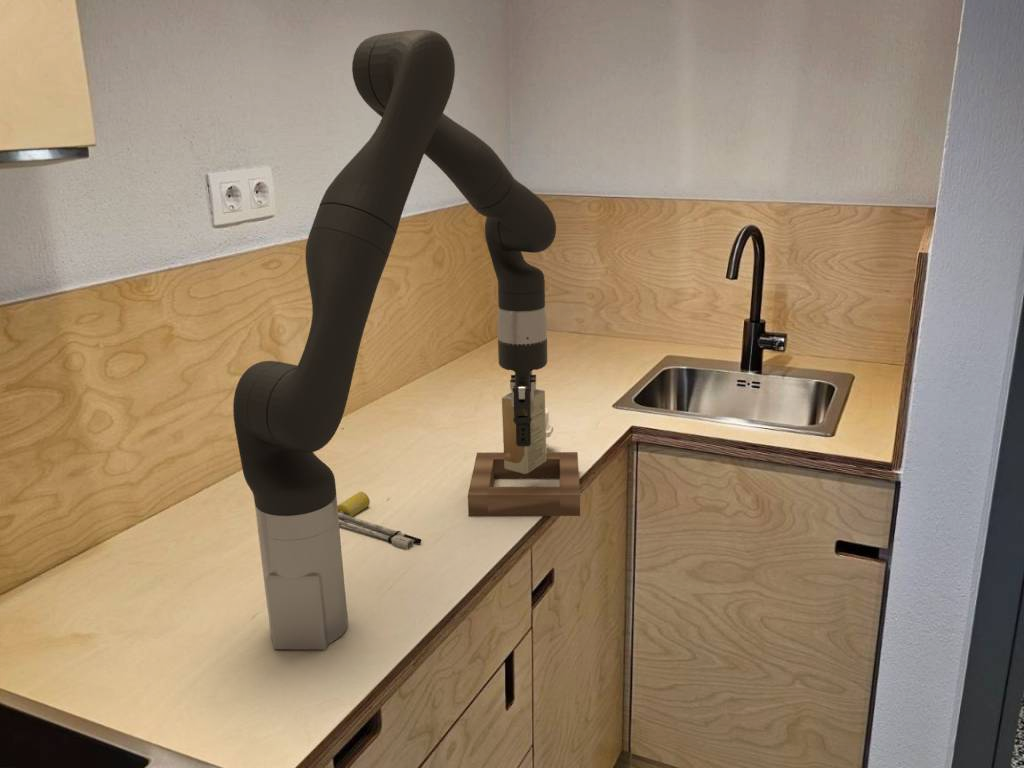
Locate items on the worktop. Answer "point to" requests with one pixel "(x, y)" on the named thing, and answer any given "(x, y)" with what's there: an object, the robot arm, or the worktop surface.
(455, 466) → the worktop surface
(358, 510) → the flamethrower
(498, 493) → the brown square open frame
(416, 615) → the worktop surface
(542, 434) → the skincare box
